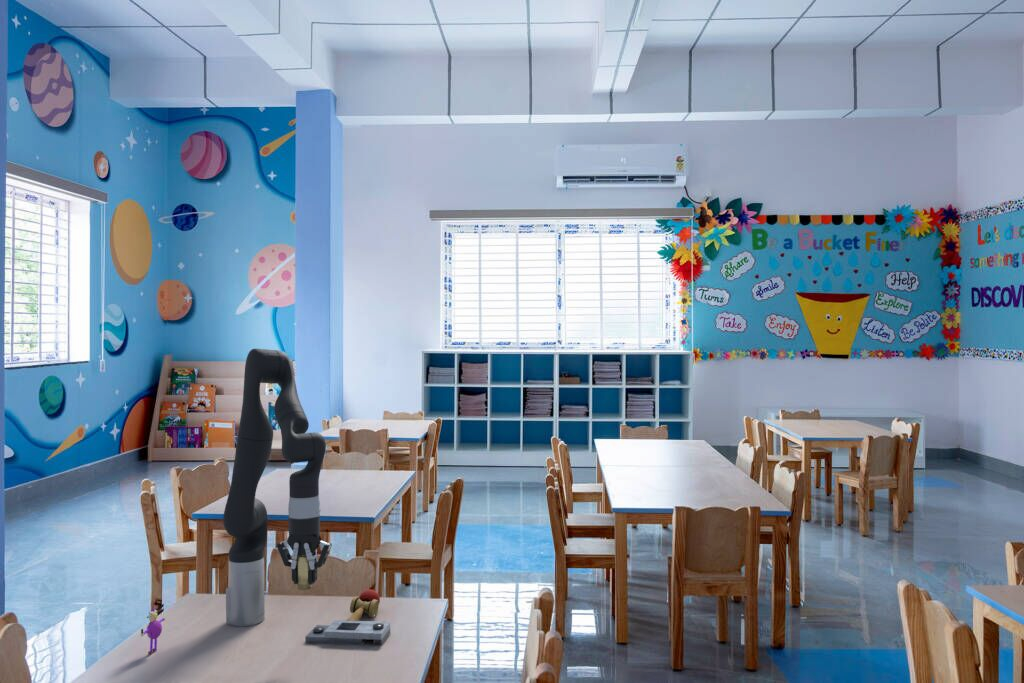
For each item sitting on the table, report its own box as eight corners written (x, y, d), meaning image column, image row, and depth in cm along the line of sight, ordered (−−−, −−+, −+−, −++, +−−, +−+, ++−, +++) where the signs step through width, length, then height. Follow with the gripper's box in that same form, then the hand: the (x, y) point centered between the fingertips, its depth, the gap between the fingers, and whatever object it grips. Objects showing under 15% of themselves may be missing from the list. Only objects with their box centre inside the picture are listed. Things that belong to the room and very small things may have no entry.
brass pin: (295, 589, 189) (295, 557, 189) (300, 585, 192) (300, 553, 192) (308, 590, 188) (308, 557, 188) (313, 585, 192) (313, 553, 192)
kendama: (367, 636, 204) (388, 603, 222) (361, 613, 203) (383, 582, 221) (339, 639, 205) (362, 607, 223) (334, 617, 204) (357, 586, 222)
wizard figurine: (159, 643, 196) (159, 596, 196) (171, 643, 196) (171, 596, 196) (135, 662, 185) (135, 612, 185) (148, 662, 185) (148, 612, 185)
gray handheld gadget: (305, 642, 196) (305, 628, 196) (317, 630, 204) (316, 617, 204) (381, 645, 194) (381, 631, 194) (390, 633, 202) (390, 619, 202)
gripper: (270, 516, 187) (270, 587, 187) (326, 518, 186) (326, 589, 186) (283, 509, 195) (283, 577, 195) (337, 511, 193) (337, 579, 193)
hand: (304, 583), depth 190 cm, fingers closed on brass pin, 3 cm apart
